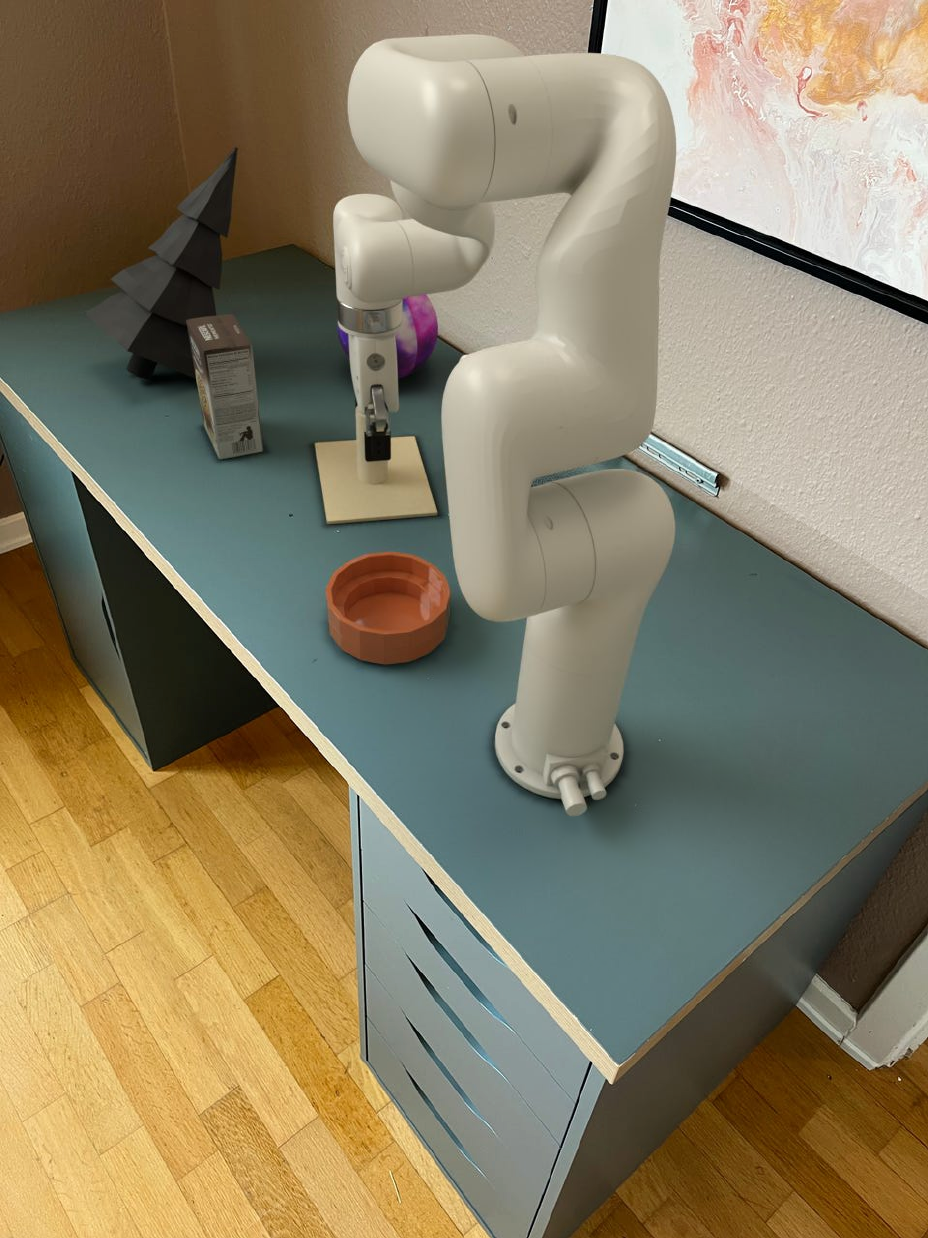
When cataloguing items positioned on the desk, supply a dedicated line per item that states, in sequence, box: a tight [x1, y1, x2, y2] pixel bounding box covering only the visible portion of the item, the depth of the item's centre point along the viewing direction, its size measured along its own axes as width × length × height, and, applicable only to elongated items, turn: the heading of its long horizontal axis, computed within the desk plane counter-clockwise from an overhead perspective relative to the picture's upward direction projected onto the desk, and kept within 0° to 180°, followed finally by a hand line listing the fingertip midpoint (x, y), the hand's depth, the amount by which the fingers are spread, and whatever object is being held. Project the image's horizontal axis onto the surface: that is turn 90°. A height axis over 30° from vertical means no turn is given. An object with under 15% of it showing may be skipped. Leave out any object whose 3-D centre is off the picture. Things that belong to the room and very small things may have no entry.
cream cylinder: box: [354, 405, 388, 484], centre depth 119 cm, size 4×4×10 cm
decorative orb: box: [337, 294, 439, 380], centre depth 138 cm, size 15×15×15 cm
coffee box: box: [186, 313, 264, 460], centre depth 122 cm, size 9×6×16 cm
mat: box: [314, 435, 438, 525], centre depth 122 cm, size 18×14×1 cm
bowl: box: [325, 551, 451, 665], centre depth 101 cm, size 13×13×5 cm
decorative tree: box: [84, 146, 239, 381], centre depth 133 cm, size 15×15×35 cm
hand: (372, 438), depth 118 cm, fingers open, 9 cm apart
